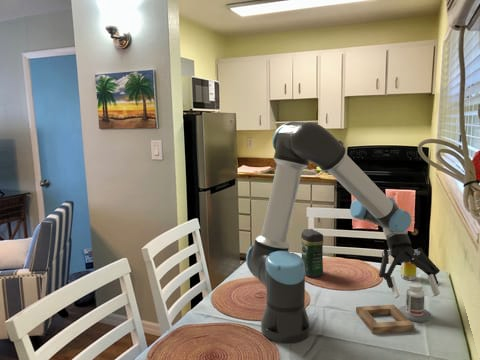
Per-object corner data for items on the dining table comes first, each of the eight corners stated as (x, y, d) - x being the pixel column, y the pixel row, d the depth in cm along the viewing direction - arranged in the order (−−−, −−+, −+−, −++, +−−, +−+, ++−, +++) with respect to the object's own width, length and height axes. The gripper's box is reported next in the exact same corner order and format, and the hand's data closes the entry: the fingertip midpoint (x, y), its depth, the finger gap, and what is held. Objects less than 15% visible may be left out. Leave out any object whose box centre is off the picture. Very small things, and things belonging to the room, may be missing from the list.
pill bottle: (427, 313, 126) (428, 285, 125) (417, 318, 123) (418, 289, 122) (411, 307, 131) (413, 279, 129) (402, 311, 128) (403, 283, 126)
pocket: (372, 333, 116) (372, 327, 116) (355, 312, 129) (356, 306, 129) (413, 330, 117) (414, 324, 117) (393, 310, 130) (393, 304, 130)
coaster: (407, 323, 122) (407, 321, 122) (392, 307, 132) (392, 306, 132) (437, 320, 123) (437, 319, 123) (420, 306, 132) (420, 304, 132)
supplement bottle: (418, 279, 154) (420, 255, 152) (406, 281, 153) (407, 256, 151) (409, 274, 159) (411, 250, 158) (397, 276, 158) (399, 252, 156)
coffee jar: (326, 276, 159) (326, 232, 156) (308, 278, 157) (309, 234, 154) (314, 267, 168) (315, 226, 165) (298, 270, 166) (298, 228, 163)
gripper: (426, 240, 142) (448, 297, 129) (360, 243, 140) (376, 301, 128) (435, 231, 136) (459, 289, 123) (366, 234, 134) (383, 294, 122)
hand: (417, 296), depth 125 cm, fingers open, 13 cm apart
